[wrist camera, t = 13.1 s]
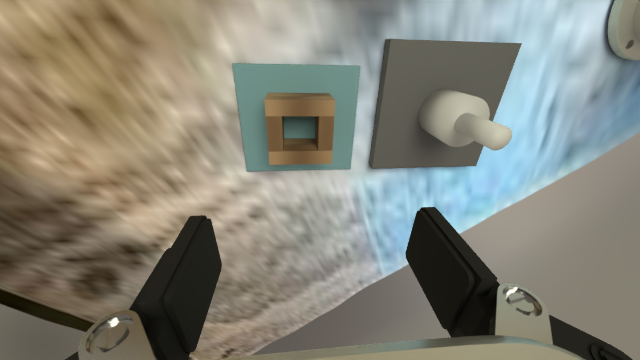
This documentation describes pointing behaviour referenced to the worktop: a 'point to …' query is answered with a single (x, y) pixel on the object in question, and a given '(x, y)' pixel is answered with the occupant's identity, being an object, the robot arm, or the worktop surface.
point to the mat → (295, 79)
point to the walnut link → (300, 148)
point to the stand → (440, 102)
